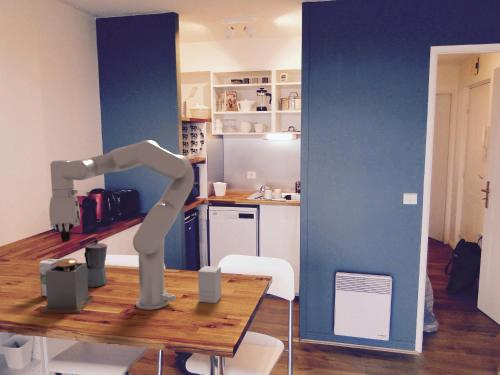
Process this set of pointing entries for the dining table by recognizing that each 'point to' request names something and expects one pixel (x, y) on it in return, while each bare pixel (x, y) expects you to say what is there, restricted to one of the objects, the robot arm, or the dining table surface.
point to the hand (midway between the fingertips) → (66, 241)
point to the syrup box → (44, 267)
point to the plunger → (66, 263)
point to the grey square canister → (67, 289)
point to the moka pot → (96, 263)
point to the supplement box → (209, 284)
